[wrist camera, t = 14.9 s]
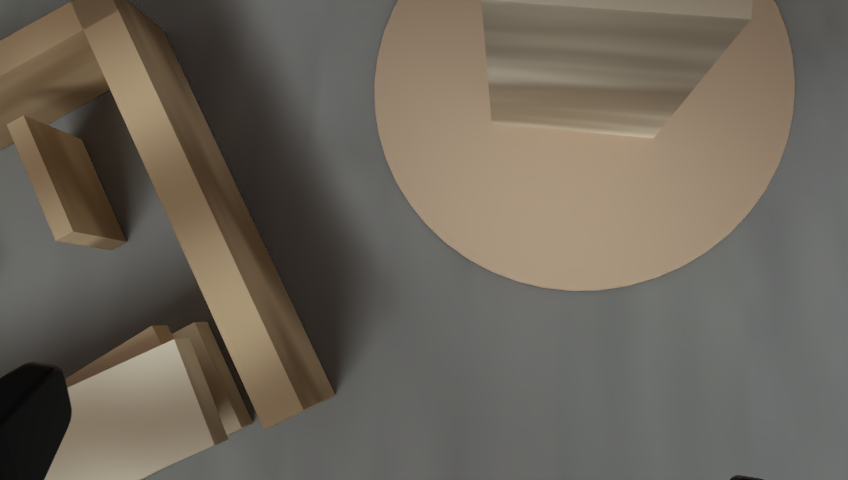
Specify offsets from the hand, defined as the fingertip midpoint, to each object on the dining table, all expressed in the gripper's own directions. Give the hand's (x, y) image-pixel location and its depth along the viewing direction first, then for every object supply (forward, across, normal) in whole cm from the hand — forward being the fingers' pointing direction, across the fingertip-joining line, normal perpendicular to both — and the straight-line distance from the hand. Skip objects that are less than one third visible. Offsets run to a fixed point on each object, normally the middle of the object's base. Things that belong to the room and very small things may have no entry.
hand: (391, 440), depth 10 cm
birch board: (+16, -4, 0) cm, 16 cm away
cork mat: (+16, -4, 0) cm, 16 cm away
